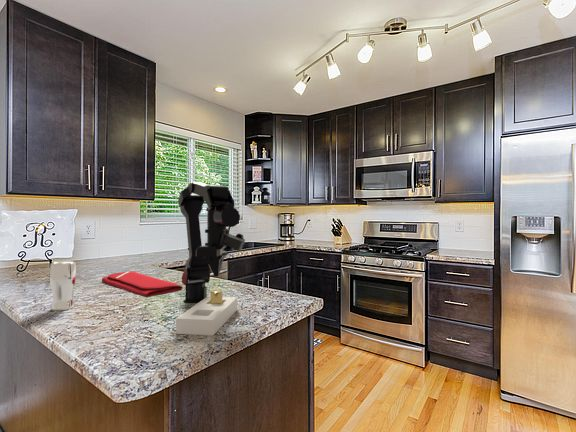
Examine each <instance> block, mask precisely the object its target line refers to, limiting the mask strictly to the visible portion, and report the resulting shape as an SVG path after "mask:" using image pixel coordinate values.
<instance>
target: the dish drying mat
mask: <svg viewBox="0 0 576 432" xmlns="http://www.w3.org/2000/svg"><path fill="white" fill-rule="evenodd" d="M101 282H103V283H104V284H108V285H110V286H112V287H116V288H117V289H118V288H119V289H122V290H124V291H127V292H132V293H133V294H137V295H139V296H143V297H151V296H156V295H160V294H161V295H163V294H165V293H167V294H168V293H170V292H176V291H181V290H182V289H183V286H182V285H180V284H177V283H175V282H172V281H167V280H163V279H159V278H157V277H153V276H149V275H146V274H142V273H140V272H136V271H132V270H131V271H122V272H115V273H111V274H108V276H103V277H102V279H101Z"/></svg>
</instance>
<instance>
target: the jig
mask: <svg viewBox="0 0 576 432" xmlns="http://www.w3.org/2000/svg"><path fill="white" fill-rule="evenodd" d="M237 310H238V297H232V296H231V297H230V296H229V297H228V296H226V297H225V296H222V304H211V296H207V297H206V298H205V299H203V300H202V301H200V302H199V303H198V302H196V303H195V304H194V305H193V306H192V307H190V308H189V309H187V310H186V311H185V312H183V313H182V314H181V315H179V316H177V317H176V318H175V334H177V335H193V336H196V335H197V336H208V337H213V336H214V335H215V334H216V333H217V332H218V331H219V330H220V329H221V328H222V327H223V325H225V323H227V321H229V320H230V318H232V316H233V315H234V314H235V313H236V312H237Z"/></svg>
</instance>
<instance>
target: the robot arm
mask: <svg viewBox="0 0 576 432" xmlns="http://www.w3.org/2000/svg"><path fill="white" fill-rule="evenodd" d="M177 200H178V201H177V203H178V206H179V208H180V213H181V214H182V215H183V216H184V218H185V225H186V234H187V244H188V245H187V246H188V259H187V260H186V262H185V265H184V266H185V268H184V270H183V273H182V275H181V283H182V285H184V286H185V294H184V295H185V299H184V300H182V301H183V302H184V303H199V302H200V301H202V300H203V299H205V298H206V297H208V294H207V293H208V287H207V286H206V284H209V283H210V279H211V272H212V275H213V276H214V277H217V278H218V277H219V276H220V273H221V269H222V266H223V262H224V259H225V258H226V257H228V255H229V254H230V252H226V251H228V250H229V251H238V252H239V251H242V250H243V246H244V245H245V243H246V242H245V241H246V239H244V235H243V234H242V233H237V234H236V235H233V234H230V230H229V229H228V228H233V227H236V226H237V225H238V224H239V222H240V219H241V215H240V212H239V211H238V209H237V208H235V200H234V198H233V195H232V193H231V191H230V190H229V187H228V186H226V185H211V184H206V183H204V182H201V181H191V182H189V184H188V185H187V186H186V187H185V188H184V189H182V190H181V191H180V194H179V197H178V199H177ZM204 203H205V204H206V205H207V207H206V209H205V211H206V213H207V215H206V217H207V220H206V221H207V227H206V229H204V234H206V236H207V239H206V242H204V245H202V235H201V224H200V214H201V212H202V211H203V206H204Z"/></svg>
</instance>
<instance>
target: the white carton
mask: <svg viewBox="0 0 576 432" xmlns="http://www.w3.org/2000/svg"><path fill="white" fill-rule="evenodd" d="M76 269H77V267H76V261H74V260H61V261H55V262H51V263H50V268H49V282H50V288H51V289H50V290H51V292H52V305H51V310H52V311H54V312H57V311H58V312H60V311H66V310H67V311H68V310H70V309H71V310H72V309H73V308H75V303H74V298H73V297H74V296H73V294H74V290H75V284H76V279H77V270H76Z"/></svg>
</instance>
